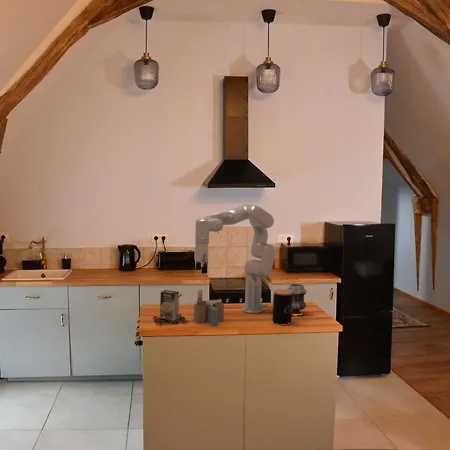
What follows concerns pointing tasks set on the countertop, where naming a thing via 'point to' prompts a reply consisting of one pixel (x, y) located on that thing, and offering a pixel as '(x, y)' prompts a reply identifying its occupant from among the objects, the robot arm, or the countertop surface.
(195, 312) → the grey twin block
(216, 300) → the swing bar
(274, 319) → the coffee jar
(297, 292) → the apothecary jar
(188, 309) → the countertop surface
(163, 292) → the coffee box
